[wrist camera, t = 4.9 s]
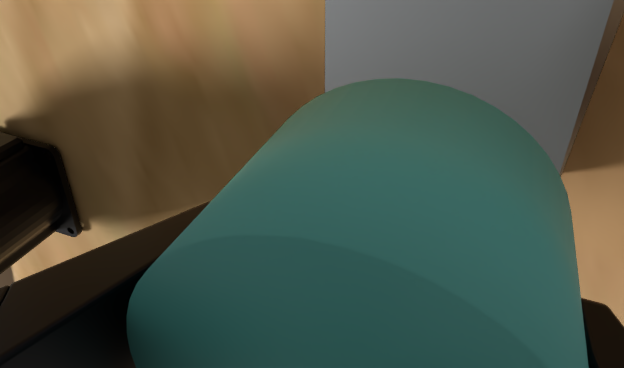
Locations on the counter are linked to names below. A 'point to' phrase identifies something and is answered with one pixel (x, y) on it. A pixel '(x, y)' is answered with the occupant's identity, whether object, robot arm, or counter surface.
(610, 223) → the counter surface
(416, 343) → the teal round block
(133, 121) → the counter surface
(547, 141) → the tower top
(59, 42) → the counter surface
